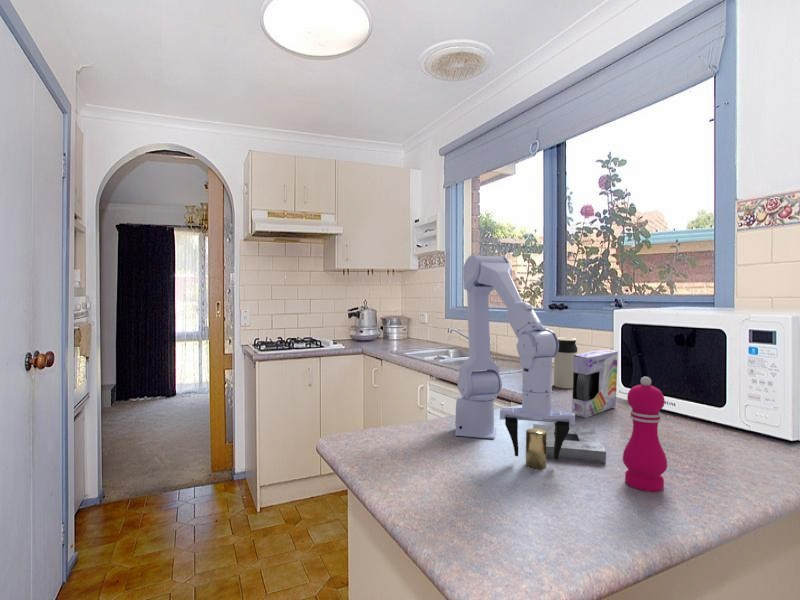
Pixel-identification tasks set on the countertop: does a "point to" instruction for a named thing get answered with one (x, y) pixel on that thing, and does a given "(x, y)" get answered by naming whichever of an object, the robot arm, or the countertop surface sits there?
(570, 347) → the travel mug
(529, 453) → the brass cylinder
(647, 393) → the pepper mill
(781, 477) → the countertop surface
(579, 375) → the cake pan box
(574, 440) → the plate
